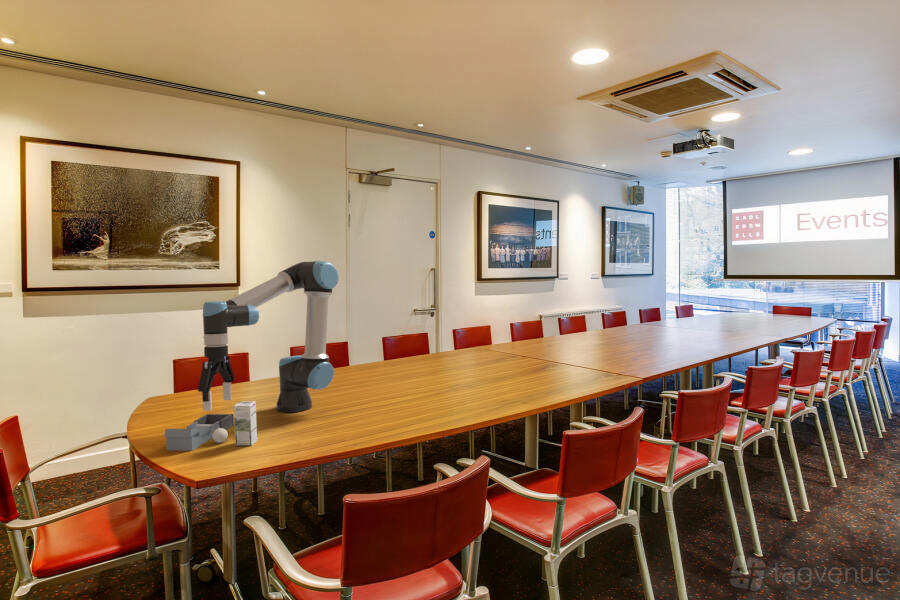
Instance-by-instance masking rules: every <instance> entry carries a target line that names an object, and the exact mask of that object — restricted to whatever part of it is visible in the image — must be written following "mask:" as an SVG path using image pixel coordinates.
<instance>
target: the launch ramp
mask: <svg viewBox="0 0 900 600" xmlns="http://www.w3.org/2000/svg"><path fill="white" fill-rule="evenodd" d="M218 428H220V427H219V421H217V422H216V423H214V424H198V421H196V422H194V421H193V423H190V424H189V425H187V426H186V428H165V429H164V436H163V437H164V438H165V444H166V451H168V452H169V451H174V452H175V451H180V452H181V451H185V452H186V451H189V452H190V451H192V452H193V451H194V450H195V449H197V448H198V447H200V446H202V445H203V444H205V443H206V442H208V441H209V440H211V439H213V438H212V434H213V432H214V431H215V430H216V429H218Z"/></svg>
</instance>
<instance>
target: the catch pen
mask: <svg viewBox="0 0 900 600" xmlns="http://www.w3.org/2000/svg"><path fill="white" fill-rule="evenodd" d="M196 421H198V424H214V423H216V422H217V421H219V427H220V428H223V429H225V430H226V431H227V430H229V429H230V428H231V427H234V413H207V414H204V415H202V416H200V417H199V418H196V419H195V420H194V421H193V423H194V422H196Z"/></svg>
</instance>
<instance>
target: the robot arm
mask: <svg viewBox="0 0 900 600" xmlns="http://www.w3.org/2000/svg"><path fill="white" fill-rule="evenodd" d="M338 282H339V272H338V270H337V268H336V267H335V265H334V264H333V263H331V262H328V261H325V260H317V261H316V260H314V261H300V262H298V263H296V264H294V265H291V266H290V267H287V268H286V269H284V270H281V271H279V272H278V273H277V275H276V276H274V277H273V278H270V279H268V280H267V281H265V282H262V283H261V284H258V285H256V286H254V287H252V288H250V289H248V290H246V291H245V292H242V293H241V294H238V295H237V296H234V297H232V298H230V299H228V300H226V301H223V300H221V301H220V300H219V301H218V300H217V301H216V300H215V301H205V302H204V303H203V305H202V321H203V322H202V323H203V324H202V326H203V344H204V349H203V354H204V355H203V356H204V358H207V361H202V365H201V366H202V369H201V374H200V378H199V382H198V387H197V392H199V393H201V394H202V397H201V398H202V411H204V412H206V411H207V412H209V411H210V412H211V411H212V410H213V407H212V405H213V403H212V402H213V401H212V400H213V399H212V391H211V388H212V386H213V385H212V384H213V383H214V379H215V377H216V375H217V374H218V373H219V375H220V377H221V378H222V380H223V382H222V395H223V396H222V397H223V398H222V400H223V401H232V398H233V397H232V383H234V382H235V373H234V371H233V367H232V364H231V361H230V360H231V359H230V356H229V346H228V345H227V344H228V343H229V339H228V338H229V337H228V336H229V335H228V328H232V327H248V326H252V325H256V324H257V323H258V321H259V319H260V312H259V309H258V307H260V306H262V305H264V304H265V303H267V302H269V301H272V300H273V299H276V298H277V297H279V296H281V295H282V294H285V293H291V292H293V291H295V290H300V289H303V293H304V294H305V295H306V297H307V298H306V299H307V301H306V302H307V303H306V320H305V321H306V322H305V323H306V324H305V340H304V341H305V342H304V353H303V354H300V355H299V354H297V355H292V356H287V357H282V358H280V359H279V361H278V372H279V373H278V374H279V393H278V398H277V401H276V404H275V405H276V406H275V407H276V408H275V409H276V411H277V412H279V413H298V412H299V413H300V412H303V411H307V410H309V409H310V410H311V408H313V400H312V397H311V394H310V392H309V389H311V390H323V389H325V388H327V387H328V386H329V385H330V384H331V383H332V381H333V379H334V376H335V370H334V367H333V365H332V364H331V363H330V356H329V355H328V354H327V352H326V351H327V330H328V310H329V309H328V308H329V307H328V306H329V297H330V296H331V295H332V294H333V288H335V287H336V286H337V284H338Z"/></svg>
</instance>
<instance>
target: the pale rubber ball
mask: <svg viewBox="0 0 900 600" xmlns="http://www.w3.org/2000/svg"><path fill="white" fill-rule="evenodd" d="M228 437H229V436H228V431H227V430H225V429H223V428H218V429H216V430H215V431H214V432H213V434H212V438H211V439H212V440H213V442H215V443H219V444H220V443H223V442H225V441H226V440H227V438H228Z"/></svg>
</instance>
